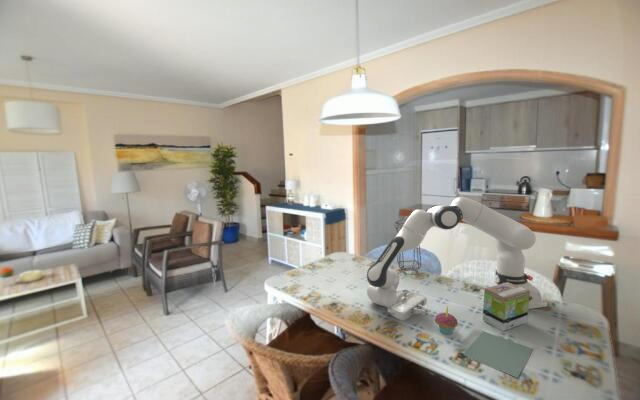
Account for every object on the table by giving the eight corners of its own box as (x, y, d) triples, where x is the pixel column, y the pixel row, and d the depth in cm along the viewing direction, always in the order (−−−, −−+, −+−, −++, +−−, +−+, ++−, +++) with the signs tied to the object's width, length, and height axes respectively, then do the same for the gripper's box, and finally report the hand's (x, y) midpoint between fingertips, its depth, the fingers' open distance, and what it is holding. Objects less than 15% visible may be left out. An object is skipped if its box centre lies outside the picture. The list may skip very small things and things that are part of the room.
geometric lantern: (398, 276, 177) (397, 218, 173) (394, 267, 193) (393, 214, 188) (425, 276, 175) (425, 217, 171) (419, 267, 191) (418, 213, 187)
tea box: (504, 332, 119) (506, 297, 117) (481, 320, 128) (483, 287, 126) (528, 322, 125) (530, 289, 123) (505, 311, 134) (506, 280, 132)
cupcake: (459, 338, 116) (460, 309, 115) (436, 336, 118) (437, 308, 116) (454, 325, 125) (455, 299, 123) (433, 324, 126) (433, 297, 125)
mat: (474, 328, 123) (474, 327, 123) (533, 349, 108) (533, 348, 108) (454, 351, 109) (454, 350, 109) (517, 379, 95) (517, 377, 95)
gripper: (384, 303, 130) (413, 314, 120) (409, 288, 143) (437, 296, 133) (384, 317, 131) (413, 329, 121) (409, 300, 144) (437, 310, 134)
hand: (426, 312), depth 127 cm, fingers closed
